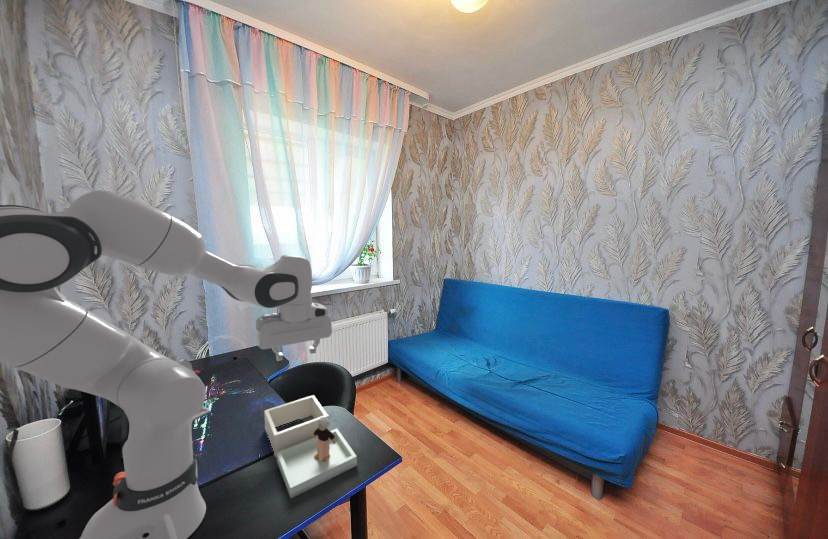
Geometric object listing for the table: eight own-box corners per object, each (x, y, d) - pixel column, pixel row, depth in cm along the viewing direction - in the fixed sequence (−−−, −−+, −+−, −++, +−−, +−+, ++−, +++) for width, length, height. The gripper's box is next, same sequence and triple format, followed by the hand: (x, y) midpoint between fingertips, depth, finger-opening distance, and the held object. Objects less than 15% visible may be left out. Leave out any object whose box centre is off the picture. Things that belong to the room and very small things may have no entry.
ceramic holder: (275, 457, 86) (274, 435, 85) (265, 430, 97) (264, 410, 96) (328, 435, 96) (328, 415, 95) (313, 412, 107) (313, 394, 106)
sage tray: (290, 498, 74) (290, 488, 73) (276, 461, 85) (276, 452, 84) (356, 465, 85) (356, 456, 84) (337, 436, 96) (337, 428, 95)
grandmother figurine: (308, 461, 84) (307, 420, 82) (314, 451, 88) (313, 412, 86) (334, 464, 83) (333, 423, 81) (339, 454, 87) (339, 415, 85)
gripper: (257, 319, 77) (259, 369, 79) (333, 309, 89) (333, 352, 91) (253, 312, 82) (255, 360, 84) (326, 304, 94) (326, 345, 96)
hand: (296, 356), depth 88 cm, fingers open, 8 cm apart
